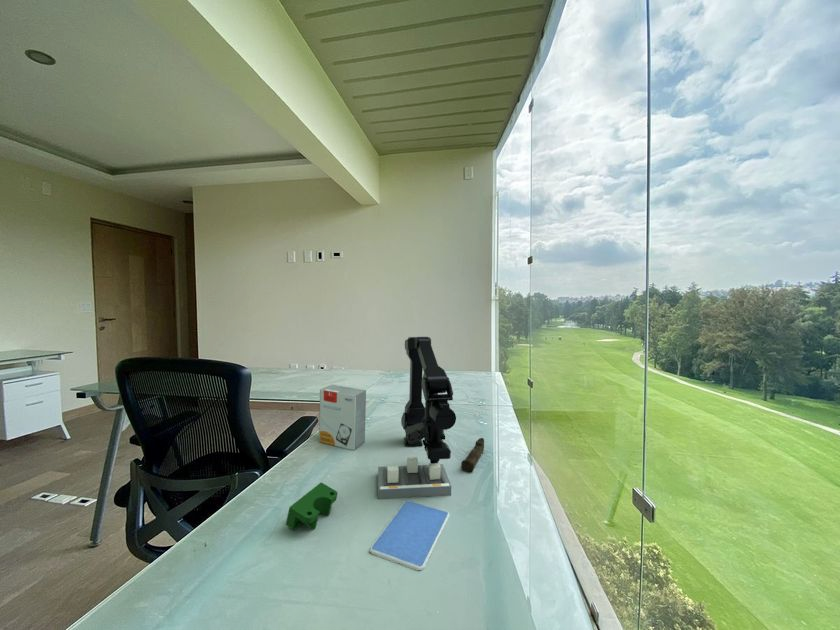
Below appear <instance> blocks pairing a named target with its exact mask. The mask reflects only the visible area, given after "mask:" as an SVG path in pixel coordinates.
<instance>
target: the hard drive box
mask: <svg viewBox="0 0 840 630" xmlns="http://www.w3.org/2000/svg"><path fill="white" fill-rule="evenodd" d="M366 405H367V390H365V389H361V388H356V387H355V388H354V387H348V386H343V385H337V384H329V385H328V386H326V387H322V388H320V389H319V425H318V426H319V428H318V429H319V433H318V434H319V437H318V440H319V441H318V442H319V443H323V444H326V445H329V446H335V447H338V448H342V449H345V450H349V451H355V450H357V449H358V448H360V447H361V446H362V445H364V444H365V443H366V415H367V414H366V413H367V410H366V409H367V408H366Z"/></svg>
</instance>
